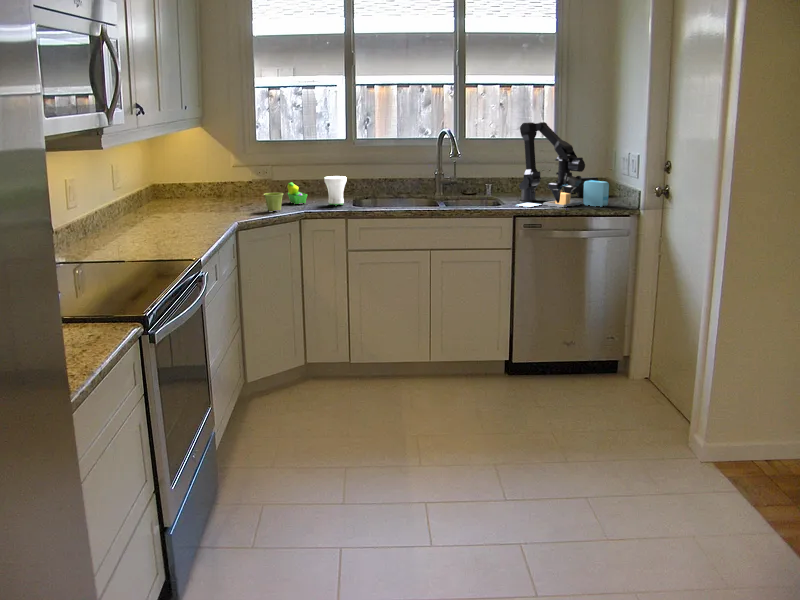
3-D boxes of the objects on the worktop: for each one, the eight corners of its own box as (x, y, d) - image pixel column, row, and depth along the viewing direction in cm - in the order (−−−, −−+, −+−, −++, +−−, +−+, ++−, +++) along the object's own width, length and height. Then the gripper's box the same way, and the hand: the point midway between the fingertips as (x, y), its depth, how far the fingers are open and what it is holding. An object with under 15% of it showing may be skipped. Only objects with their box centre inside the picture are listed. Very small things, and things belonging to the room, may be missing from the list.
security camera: (561, 196, 416) (562, 177, 413) (593, 195, 420) (594, 176, 417) (567, 198, 409) (568, 179, 407) (599, 196, 413) (600, 177, 411)
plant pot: (273, 209, 383) (272, 192, 381) (288, 210, 379) (287, 193, 377) (260, 212, 376) (259, 194, 373) (275, 213, 371) (274, 195, 369)
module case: (543, 205, 385) (543, 202, 384) (561, 202, 396) (561, 199, 395) (563, 208, 377) (563, 205, 376) (581, 204, 387) (582, 201, 387)
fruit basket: (308, 204, 399) (307, 182, 396) (292, 205, 395) (291, 183, 392) (301, 201, 409) (300, 180, 406) (285, 203, 405) (284, 181, 402)
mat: (515, 206, 385) (515, 204, 385) (527, 203, 391) (527, 202, 391) (530, 207, 378) (530, 206, 378) (542, 205, 385) (542, 204, 385)
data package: (608, 206, 380) (609, 182, 377) (602, 207, 377) (603, 182, 374) (588, 203, 389) (589, 179, 386) (582, 204, 386) (583, 180, 383)
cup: (351, 205, 393) (350, 177, 389) (331, 207, 388) (330, 179, 384) (341, 202, 402) (340, 175, 399) (321, 204, 397) (320, 177, 393)
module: (555, 205, 387) (555, 193, 385) (559, 204, 390) (560, 192, 388) (565, 206, 383) (566, 194, 381) (570, 205, 385) (570, 193, 384)
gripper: (567, 173, 370) (565, 205, 374) (588, 169, 382) (587, 201, 386) (547, 171, 377) (546, 203, 382) (569, 168, 390) (568, 199, 394)
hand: (562, 201), depth 386 cm, fingers open, 8 cm apart
